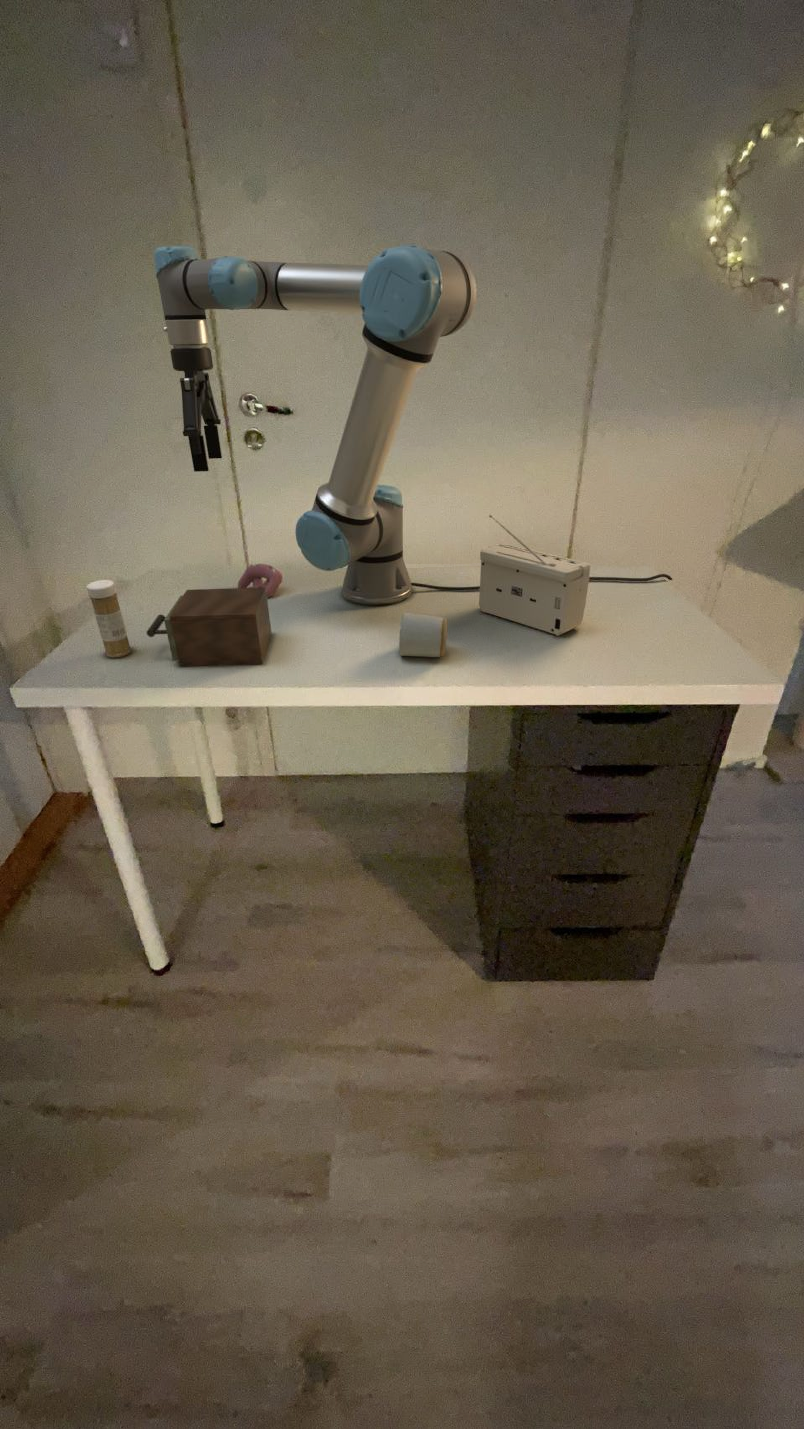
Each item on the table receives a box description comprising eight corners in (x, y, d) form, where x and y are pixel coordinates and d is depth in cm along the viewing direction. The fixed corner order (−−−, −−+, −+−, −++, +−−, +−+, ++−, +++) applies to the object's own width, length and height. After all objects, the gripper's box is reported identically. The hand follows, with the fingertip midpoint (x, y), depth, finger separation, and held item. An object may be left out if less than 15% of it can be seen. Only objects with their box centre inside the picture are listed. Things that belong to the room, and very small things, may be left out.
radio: (583, 627, 128) (598, 525, 117) (561, 640, 123) (575, 534, 112) (496, 601, 140) (503, 506, 130) (473, 612, 135) (477, 514, 124)
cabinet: (179, 666, 116) (169, 616, 110) (195, 636, 126) (186, 589, 121) (262, 664, 116) (255, 613, 111) (271, 634, 127) (265, 587, 122)
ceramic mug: (444, 664, 115) (445, 624, 111) (398, 662, 116) (398, 622, 112) (447, 640, 124) (449, 601, 120) (405, 638, 125) (404, 600, 121)
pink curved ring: (281, 600, 146) (287, 569, 145) (267, 597, 142) (274, 565, 141) (248, 592, 150) (254, 562, 149) (234, 589, 146) (240, 558, 145)
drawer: (148, 661, 115) (138, 620, 111) (165, 634, 125) (157, 596, 121) (249, 658, 116) (243, 617, 112) (258, 631, 126) (253, 593, 122)
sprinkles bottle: (128, 645, 123) (110, 577, 116) (134, 654, 120) (116, 584, 113) (102, 651, 121) (83, 582, 114) (108, 661, 118) (88, 590, 111)
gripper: (185, 344, 134) (203, 453, 146) (151, 350, 113) (175, 477, 124) (222, 344, 135) (237, 453, 146) (194, 349, 113) (214, 476, 125)
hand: (208, 464), depth 135 cm, fingers open, 13 cm apart
